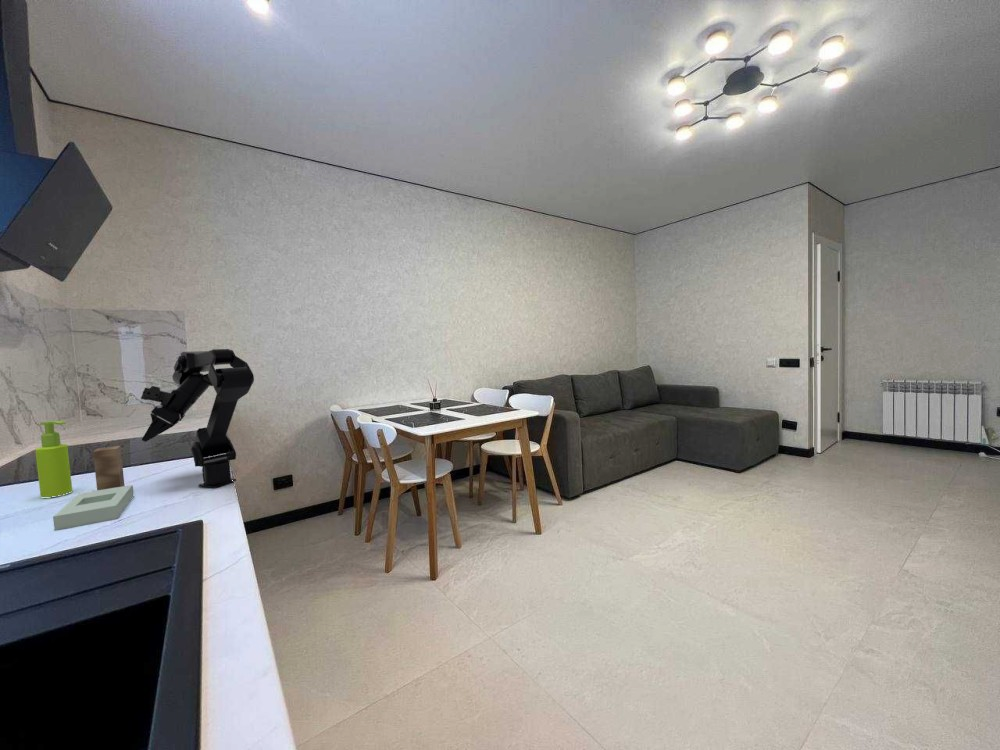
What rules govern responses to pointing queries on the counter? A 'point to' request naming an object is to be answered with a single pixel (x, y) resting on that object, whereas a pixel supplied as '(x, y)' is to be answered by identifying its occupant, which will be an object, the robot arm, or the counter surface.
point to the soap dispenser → (53, 463)
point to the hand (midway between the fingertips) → (146, 439)
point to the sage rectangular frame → (93, 507)
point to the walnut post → (108, 467)
